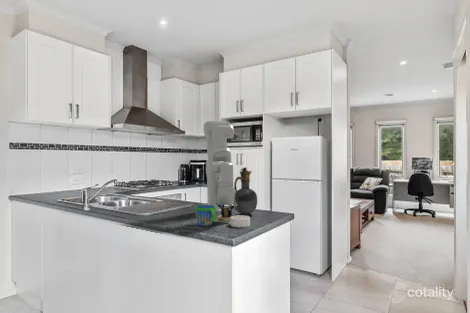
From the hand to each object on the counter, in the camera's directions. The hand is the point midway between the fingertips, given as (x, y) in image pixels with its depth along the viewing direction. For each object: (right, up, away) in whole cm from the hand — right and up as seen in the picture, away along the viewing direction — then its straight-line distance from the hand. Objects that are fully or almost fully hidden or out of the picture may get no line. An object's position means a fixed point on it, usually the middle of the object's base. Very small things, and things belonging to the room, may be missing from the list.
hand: (226, 216), depth 168 cm
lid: (0, -1, 0) cm, 1 cm away
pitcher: (+10, -3, +11) cm, 15 cm away
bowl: (+8, -3, -12) cm, 15 cm away
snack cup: (-11, -3, -11) cm, 16 cm away
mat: (0, -2, 0) cm, 2 cm away
